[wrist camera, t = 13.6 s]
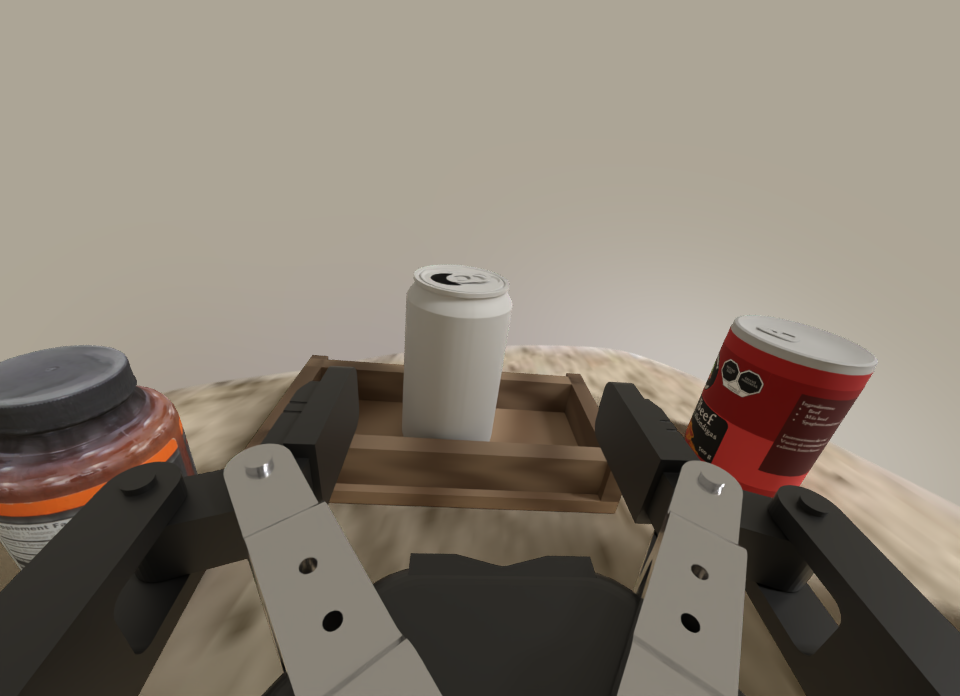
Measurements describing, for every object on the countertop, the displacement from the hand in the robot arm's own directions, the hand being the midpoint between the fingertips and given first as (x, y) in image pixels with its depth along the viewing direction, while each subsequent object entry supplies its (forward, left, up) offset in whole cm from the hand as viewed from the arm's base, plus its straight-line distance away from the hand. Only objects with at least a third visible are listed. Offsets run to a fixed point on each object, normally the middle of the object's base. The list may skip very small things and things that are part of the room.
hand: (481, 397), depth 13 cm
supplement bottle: (+15, -2, -13) cm, 20 cm away
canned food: (-22, -12, -13) cm, 28 cm away
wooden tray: (+1, -12, -13) cm, 17 cm away
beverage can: (+1, -12, -12) cm, 17 cm away
